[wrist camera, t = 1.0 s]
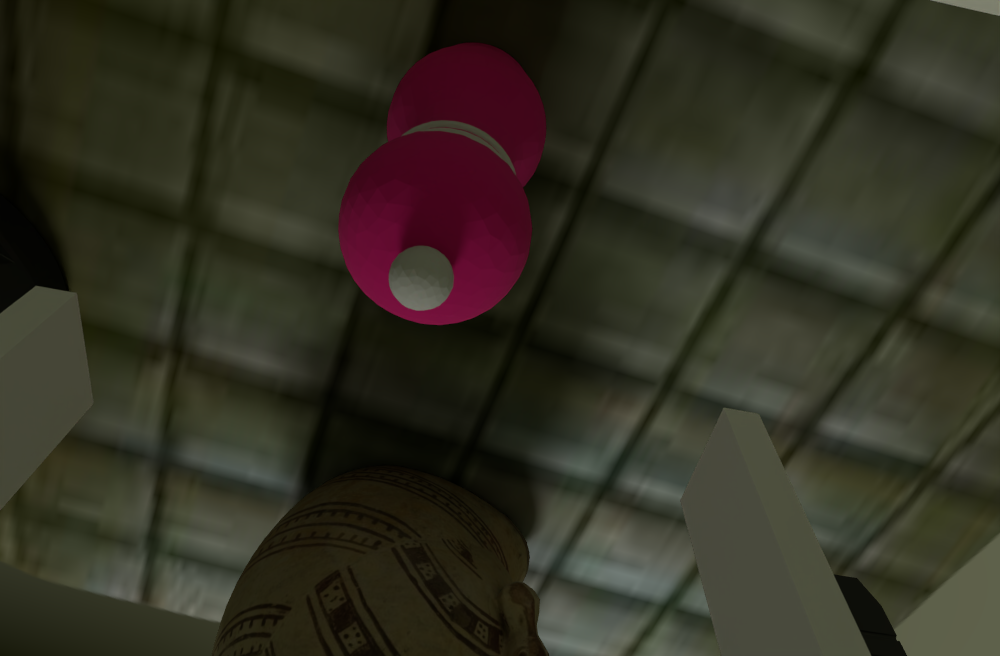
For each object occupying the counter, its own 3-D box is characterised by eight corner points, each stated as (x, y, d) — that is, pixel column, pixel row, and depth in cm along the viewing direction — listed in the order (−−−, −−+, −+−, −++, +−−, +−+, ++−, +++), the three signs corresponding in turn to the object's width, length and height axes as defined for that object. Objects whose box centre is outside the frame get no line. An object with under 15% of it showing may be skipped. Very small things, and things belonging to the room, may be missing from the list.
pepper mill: (441, 1, 32) (338, 100, 15) (572, 78, 34) (609, 246, 17) (381, 134, 36) (243, 336, 19) (502, 198, 37) (475, 438, 20)
